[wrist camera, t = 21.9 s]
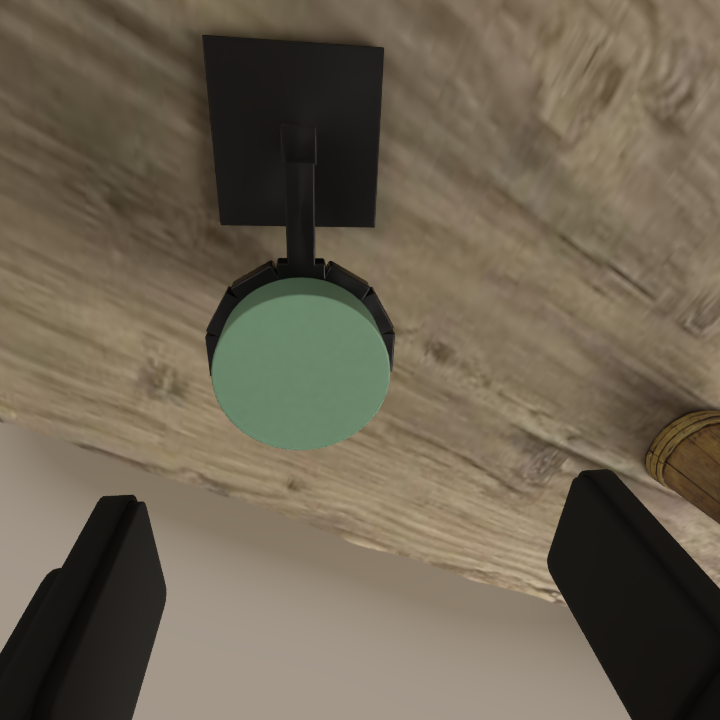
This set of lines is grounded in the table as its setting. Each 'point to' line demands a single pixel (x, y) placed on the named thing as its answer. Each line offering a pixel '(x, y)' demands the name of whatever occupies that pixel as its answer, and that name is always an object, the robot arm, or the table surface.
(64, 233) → the table surface
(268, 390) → the canister
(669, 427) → the wooden mug
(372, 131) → the holder
